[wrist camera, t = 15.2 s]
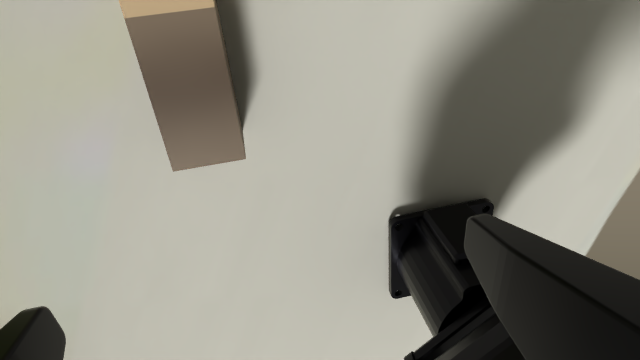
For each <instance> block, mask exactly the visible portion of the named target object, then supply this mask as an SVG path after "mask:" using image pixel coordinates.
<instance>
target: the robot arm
mask: <svg viewBox="0 0 640 360" xmlns="http://www.w3.org/2000/svg"><path fill="white" fill-rule="evenodd" d="M485 206H486V207H485ZM483 207H485V208H483ZM493 208H494V206H493V204H492V203H491V202H490V201H489V200H488V199H480V200H475V201H470V202H465V203H460V204H455V205H451V206H446V207H441V208H436V209H431V210H426V211H421V212H416V213H412V214H407V215H402V216H397V217H394V218H393V219H391V220H390V222H389V292H390V294H391V296H392V297H393V298H395V299H397V298H402V297H407V296H412V297H413V299H414V301H415V303H416V305H417V307H418V309H419V311H420V313H421V315H422V316H423V318H424V320H425V322H426V324H427V326H428V328H429V330H430V332H431V334H432V335H433V338H431V339H430V340H429V341H428V342H426V343H425V344H424V345H422V346H421V347H420V348H419V349H417V350H416V351H415V352H411V353H409V354H408V355H407V356H405V357H404V360H640V280H638V279H636V278H634V277H632V276H629V275H627V274H625V273H622V272H620V271H618V270H616V269H613V268H611V267H609V266H606V265H604V264H602V263H599V262H597V261H595V260H593V259H590V258H588V257H586V256H583V255H581V254H579V253H576V252H574V251H572V250H570V249H567V248H565V247H563V246H560V245H558V244H556V243H553V242H551V241H549V240H546V239H544V238H542V237H540V236H537V235H535V234H533V233H530V232H528V231H526V230H523V229H521V228H519V227H517V226H514V225H512V224H510V223H507V222H505V221H503V220H500V219H498V218H496V217H494V216H492V215H493ZM398 224H400V225H399V226H397V227H395V226H396V225H398ZM65 344H66V338H65V334H64V332H63V330H62V328H61V327H60V325H59V323H58V322H57V320H56V319H55V317H54V316H53V314H52V313H51V311H50V310H49V309H48V308H47V307H44V306H41V307H36V308H31V309H26V310H23V311H21V312H20V313H18V314H17V315H16V316H15V317H14V318H13V319H12V320H10V321H9V322H8V323H7V324H6V325H5V326H4V327H2V328H1V329H0V360H63V358H64V351H65Z"/></svg>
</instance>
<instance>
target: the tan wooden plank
mask: <svg viewBox="0 0 640 360" xmlns="http://www.w3.org/2000/svg"><path fill="white" fill-rule="evenodd" d="M119 3H120V6H121V9H122V12H123V15H124V18H125V21H126V25H127V28H128V31H129V34H130V37H131V40H132V44H133V47H134V50H135V53H136V56H137V59H138V62H139V66H140V69H141V72H142V75H143V78H144V81H145V84H146V88H147V91H148V94H149V97H150V100H151V103H152V107H153V110H154V113H155V116H156V119H157V122H158V125H159V129H160V132H161V135H162V138H163V141H164V144H165V147H166V151H167V154H168V157H169V160H170V163H171V166H172V170H173V171H179V170H185V169H191V168H196V167H202V166H208V165H214V164H219V163H225V162H231V161H237V160H242V159H246V156H245V147H244V139H243V130H242V125H241V120H240V115H239V111H238V106H237V101H236V96H235V91H234V86H233V81H232V76H231V71H230V66H229V61H228V56H227V51H226V46H225V41H224V36H223V31H222V27H221V22H220V17H219V12H218V7H217V2H216V0H119Z"/></svg>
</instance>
